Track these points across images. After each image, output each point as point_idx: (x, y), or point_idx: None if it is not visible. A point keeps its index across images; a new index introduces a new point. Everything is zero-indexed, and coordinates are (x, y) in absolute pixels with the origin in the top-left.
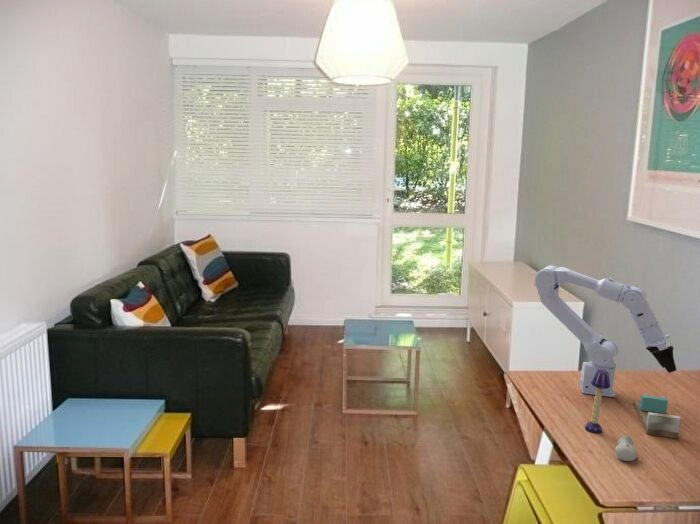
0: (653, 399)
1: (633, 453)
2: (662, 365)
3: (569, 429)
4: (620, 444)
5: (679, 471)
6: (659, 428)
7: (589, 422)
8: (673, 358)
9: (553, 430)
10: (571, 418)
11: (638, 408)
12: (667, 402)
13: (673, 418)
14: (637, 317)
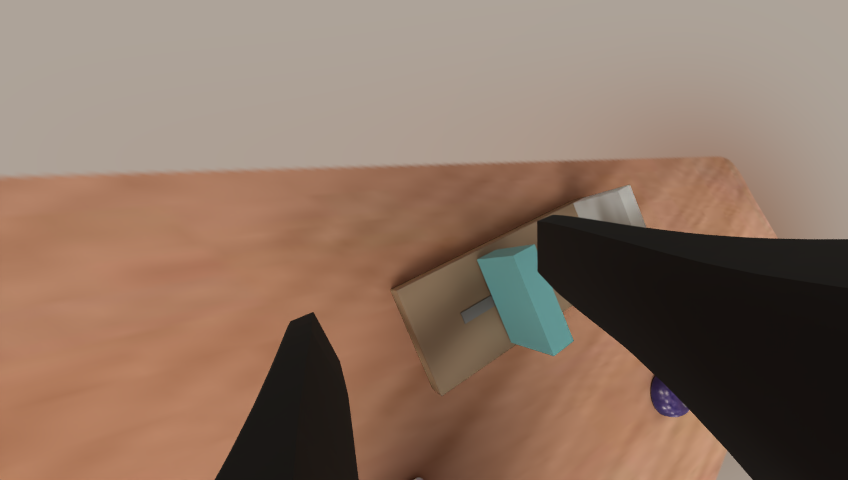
0: (554, 299)
1: None
2: (343, 379)
3: (696, 435)
4: None
5: (684, 183)
6: None
7: (687, 410)
8: (702, 234)
9: (720, 458)
10: (653, 471)
11: (509, 345)
12: (527, 246)
13: (634, 205)
14: None
